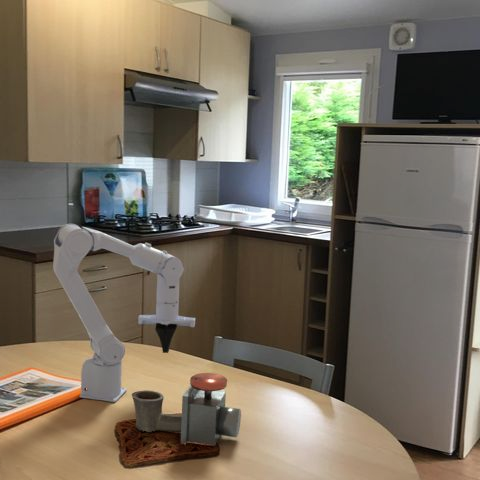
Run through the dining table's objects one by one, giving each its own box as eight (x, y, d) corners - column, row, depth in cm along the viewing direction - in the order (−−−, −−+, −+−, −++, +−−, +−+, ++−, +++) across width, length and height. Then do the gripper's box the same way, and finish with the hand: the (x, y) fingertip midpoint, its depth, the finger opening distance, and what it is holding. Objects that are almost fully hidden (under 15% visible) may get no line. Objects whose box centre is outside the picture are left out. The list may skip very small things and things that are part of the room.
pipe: (182, 440, 134) (183, 405, 133) (125, 432, 137) (126, 398, 135) (189, 428, 140) (190, 394, 139) (135, 420, 143) (136, 387, 141)
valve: (178, 444, 132) (180, 386, 130) (192, 422, 143) (195, 368, 141) (231, 452, 130) (235, 393, 128) (242, 429, 141) (245, 374, 139)
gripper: (136, 303, 156) (135, 355, 158) (194, 306, 156) (191, 358, 158) (141, 296, 163) (140, 346, 165) (196, 299, 163) (194, 349, 165)
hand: (165, 351), depth 162 cm, fingers closed
